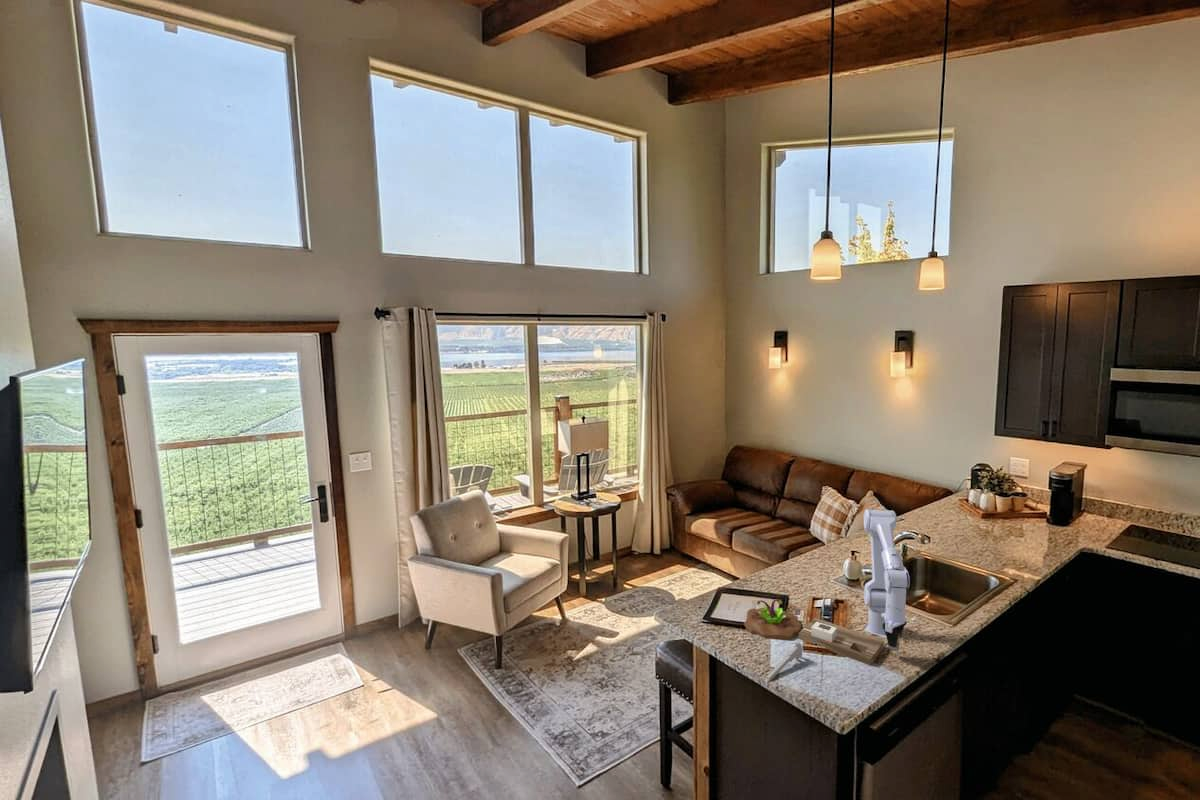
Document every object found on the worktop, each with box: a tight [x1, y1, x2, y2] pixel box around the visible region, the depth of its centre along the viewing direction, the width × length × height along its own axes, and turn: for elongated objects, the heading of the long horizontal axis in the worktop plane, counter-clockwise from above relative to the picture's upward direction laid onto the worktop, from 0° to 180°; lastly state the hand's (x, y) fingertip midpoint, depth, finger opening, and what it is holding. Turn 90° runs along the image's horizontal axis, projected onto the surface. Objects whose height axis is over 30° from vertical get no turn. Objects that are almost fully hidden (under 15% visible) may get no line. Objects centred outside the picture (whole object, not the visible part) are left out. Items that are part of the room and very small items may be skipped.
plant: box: [743, 598, 802, 641], centre depth 208 cm, size 20×20×11 cm
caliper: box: [764, 640, 803, 683], centre depth 181 cm, size 20×1×6 cm, turn 131°
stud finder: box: [811, 622, 837, 642], centre depth 197 cm, size 5×7×3 cm
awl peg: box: [887, 634, 901, 652], centre depth 187 cm, size 3×3×6 cm
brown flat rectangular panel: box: [798, 617, 885, 666], centre depth 197 cm, size 14×24×2 cm, turn 47°
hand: (893, 643), depth 188 cm, fingers closed on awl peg, 3 cm apart
